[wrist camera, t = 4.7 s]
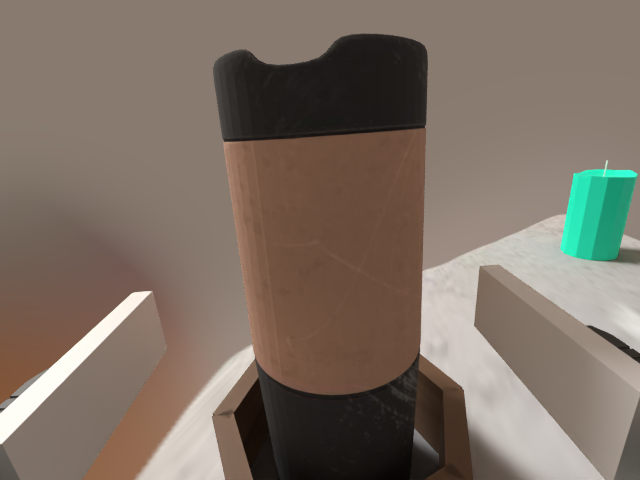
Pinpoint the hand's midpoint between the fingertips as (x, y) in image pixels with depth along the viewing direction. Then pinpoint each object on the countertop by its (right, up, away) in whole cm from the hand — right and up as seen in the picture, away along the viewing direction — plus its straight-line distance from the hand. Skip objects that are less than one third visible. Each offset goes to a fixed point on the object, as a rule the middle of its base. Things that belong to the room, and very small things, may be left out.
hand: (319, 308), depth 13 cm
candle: (+36, +1, +30) cm, 47 cm away
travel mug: (+1, -10, +5) cm, 11 cm away
